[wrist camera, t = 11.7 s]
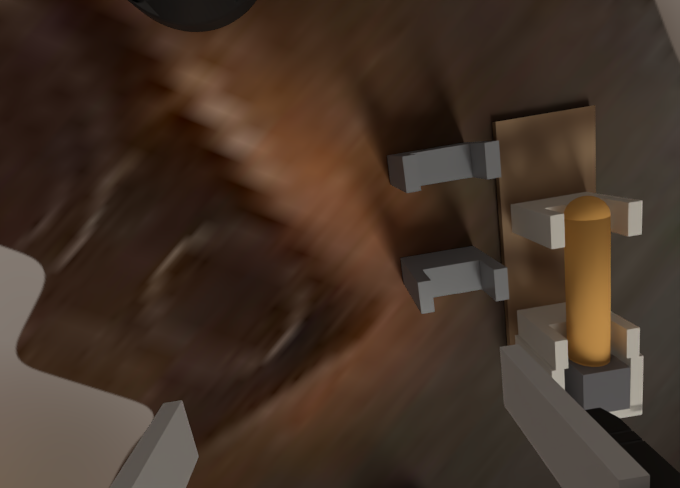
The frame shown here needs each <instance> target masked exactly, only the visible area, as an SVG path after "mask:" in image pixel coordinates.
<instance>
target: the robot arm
mask: <svg viewBox="0 0 680 488" xmlns="http://www.w3.org/2000/svg"><path fill="white" fill-rule="evenodd" d="M128 1H129V2H130V3H132V4H133V5H134V6H135V7H137V8H138V9H139V10H141V11H142V12H143V13H145V14H146V15H147V16H149V17H150V18H152V19H153V20H155V21H157V22H159V23H161V24H163V25H165V26H168V27H171V28H174V29H177V30H182V31H190V32H203V31H210V30H215V29H218V28H221V27H224V26H226V25H228V24H230V23H232V22H234V21H235V20H237V19H238V18H240V17H241V16H242V15H243V14H245V13H246V12H247V11H248V10H249V9H250V8H251V7H252V5H253V4H254V3H255V2H256V0H128ZM500 356H501V370H502V383H503V397H504V406H505V407H506V409H507V410H508V412H509V413H510V414H511V416H512V417H513V419H514V420H515V422H516V423H517V424H518V426H519V427H520V429H521V430H522V432H523V433H524V434H525V436H526V437H527V439H528V440H529V441H530V443H531V444H532V446H533V447H534V449H535V450H536V451H537V453H538V454H539V456H540V457H541V458H542V460H543V461H544V463H545V464H546V466H547V467H548V468H549V470H550V471H551V473H552V474H553V476H554V477H555V478H556V480H557V481H558V483H559V484H560V485H561V487H562V488H680V473H679V472H678V471H677V470H676V469H675V468H673V467H672V466H671V465H670V464H669V463H668V462H667V461H666V460H665V459H664V458H662V457H661V456H660V455H659V454H658V453H657V452H656V451H655V450H654V449H653V448H651V447H650V446H649V445H648V444H647V443H646V442H645V441H642V438H640V437H639V436H638V435H637V434H636V433H635V432H634V431H631V428H629V427H628V426H627V425H626V424H625V423H624V422H623V421H622V420H621V419H619V418H618V417H617V416H615V415H613V414H611V413H610V412H608V411H606V410H604V409H602V408H594V409H588V410H584V409H583V408H582V407H581V406H580V405H579V404H578V403H577V402H576V401H575V400H574V399H573V398H572V397H571V396H570V395H569V394H568V393H567V392H566V391H565V390H564V389H563V388H562V387H561V386H560V385H559V384H558V383H557V382H556V381H555V380H554V379H553V378H552V377H551V376H550V375H549V374H548V373H547V372H546V371H545V370H544V369H543V368H542V367H541V366H540V365H539V364H538V363H537V362H536V361H535V360H534V359H533V358H532V357H531V356H530V355H529V354H528V353H527V352H526V351H525V350H524V349H523V348H522V347H521V346H520V345H519V344H515V345H509V346H503V347H500ZM198 457H199V456H198V453H197V449H196V446H195V442H194V439H193V436H192V432H191V429H190V425H189V422H188V419H187V415H186V412H185V409H184V405H183V402H182V400H180V401H174V402H168V403H163V405H162V406H161V408H160V410H159V411H158V413H157V414H156V416H155V417H154V419H153V421H152V422H151V424H150V425H149V427H148V428H147V430H146V431H145V433H144V435H143V436H142V438H141V439H140V441H139V442H138V444H137V446H136V447H135V449H134V450H133V452H132V453H131V455H130V456H129V458H128V460H127V461H126V463H125V464H124V466H123V467H122V469H121V471H120V472H119V474H118V475H117V477H116V478H115V480H114V482H113V483H112V485H111V486H110V488H186V486H187V483H188V481H189V479H190V476H191V474H192V471H193V469H194V467H195V464H196V462H197V459H198Z"/></svg>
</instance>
